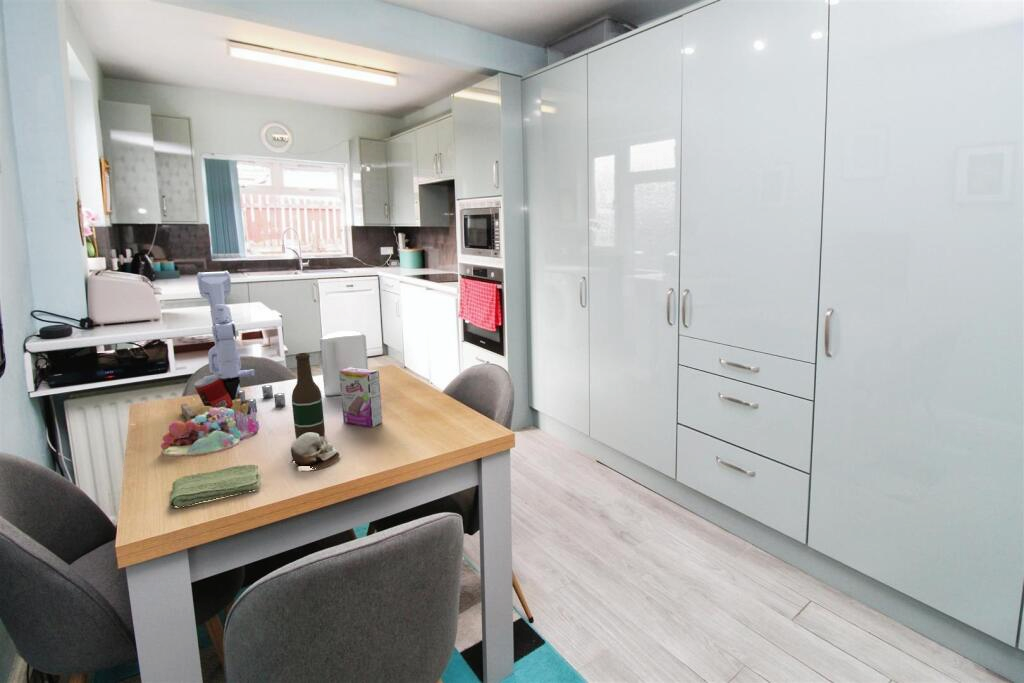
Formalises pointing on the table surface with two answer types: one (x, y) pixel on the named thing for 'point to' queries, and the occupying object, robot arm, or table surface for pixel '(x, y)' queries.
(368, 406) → the candy bar box
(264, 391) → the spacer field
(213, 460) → the table surface
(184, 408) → the stop batten
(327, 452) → the skull
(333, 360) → the white tall block
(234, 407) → the candy landscape model
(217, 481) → the washcloth
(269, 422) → the table surface
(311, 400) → the beer bottle
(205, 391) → the canned food
